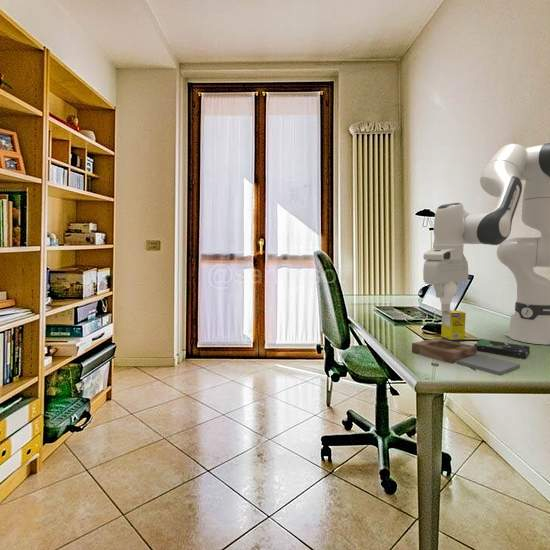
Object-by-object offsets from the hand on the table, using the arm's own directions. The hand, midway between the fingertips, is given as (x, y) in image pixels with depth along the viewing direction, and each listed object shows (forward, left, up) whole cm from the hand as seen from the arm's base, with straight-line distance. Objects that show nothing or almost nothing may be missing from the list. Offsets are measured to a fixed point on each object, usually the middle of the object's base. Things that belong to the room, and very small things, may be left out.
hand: (446, 296), depth 117 cm
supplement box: (-21, -9, -19) cm, 30 cm away
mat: (0, +14, -19) cm, 24 cm away
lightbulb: (0, 0, -5) cm, 5 cm away
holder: (0, 0, -19) cm, 19 cm away
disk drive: (-19, +9, -20) cm, 29 cm away
